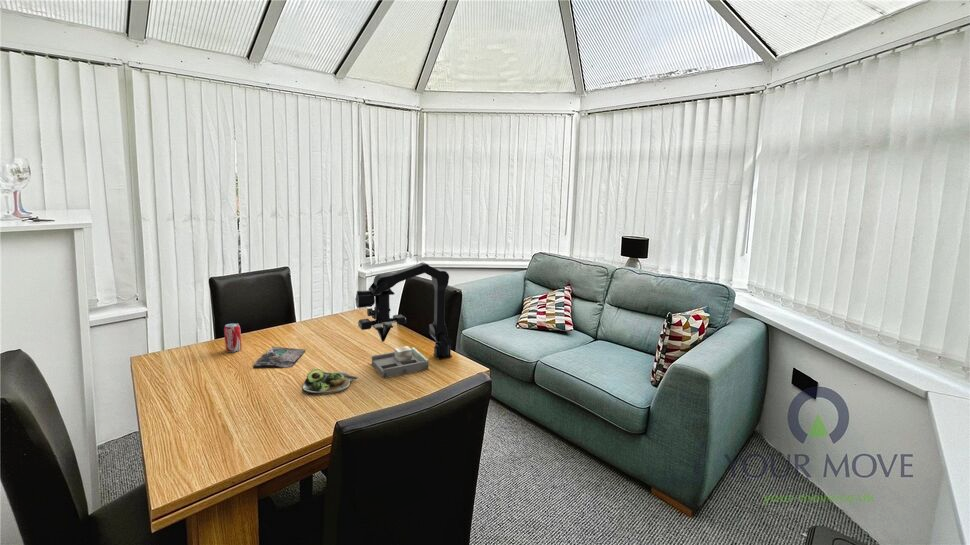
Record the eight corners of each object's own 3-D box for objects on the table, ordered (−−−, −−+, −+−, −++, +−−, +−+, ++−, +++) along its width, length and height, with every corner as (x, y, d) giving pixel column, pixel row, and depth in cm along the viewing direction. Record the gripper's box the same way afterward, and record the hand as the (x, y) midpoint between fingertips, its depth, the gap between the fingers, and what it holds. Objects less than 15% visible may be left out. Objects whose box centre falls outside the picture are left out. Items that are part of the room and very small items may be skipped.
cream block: (407, 354, 191) (407, 345, 191) (411, 358, 187) (411, 349, 186) (394, 356, 188) (394, 348, 187) (398, 361, 184) (398, 352, 183)
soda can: (245, 349, 196) (242, 324, 193) (230, 354, 190) (228, 328, 188) (237, 346, 199) (235, 321, 196) (223, 350, 194) (220, 325, 191)
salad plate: (358, 373, 177) (358, 362, 176) (356, 393, 160) (355, 381, 159) (308, 376, 173) (307, 365, 172) (299, 397, 156) (299, 385, 155)
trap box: (413, 355, 195) (413, 347, 194) (428, 369, 182) (428, 360, 181) (371, 363, 186) (371, 354, 185) (384, 378, 172) (383, 368, 171)
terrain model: (291, 369, 179) (290, 362, 178) (253, 369, 178) (252, 362, 177) (307, 350, 199) (307, 343, 198) (273, 350, 197) (272, 343, 197)
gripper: (397, 298, 190) (397, 332, 193) (354, 303, 180) (355, 338, 183) (406, 304, 181) (406, 340, 184) (361, 310, 171) (362, 347, 174)
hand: (382, 341), depth 181 cm, fingers closed
